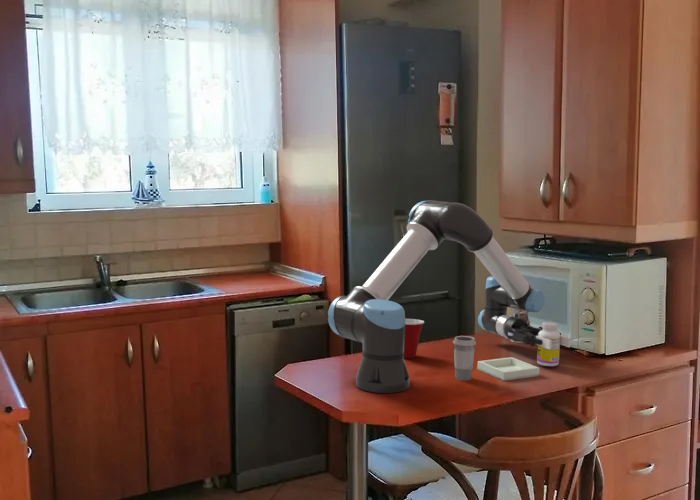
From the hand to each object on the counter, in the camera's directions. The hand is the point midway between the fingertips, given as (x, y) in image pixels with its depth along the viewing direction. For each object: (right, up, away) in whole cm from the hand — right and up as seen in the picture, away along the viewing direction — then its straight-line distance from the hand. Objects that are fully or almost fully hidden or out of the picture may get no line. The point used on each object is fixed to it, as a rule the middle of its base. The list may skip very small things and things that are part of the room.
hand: (560, 343), depth 228 cm
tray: (-16, -8, -2) cm, 18 cm away
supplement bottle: (-2, -7, +5) cm, 9 cm away
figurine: (-3, -4, +38) cm, 38 cm away
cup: (-31, -9, -9) cm, 33 cm away
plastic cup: (-45, -6, +15) cm, 48 cm away
